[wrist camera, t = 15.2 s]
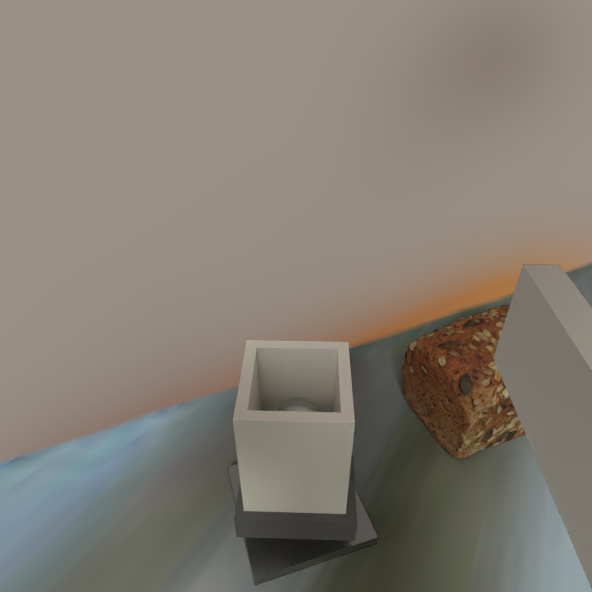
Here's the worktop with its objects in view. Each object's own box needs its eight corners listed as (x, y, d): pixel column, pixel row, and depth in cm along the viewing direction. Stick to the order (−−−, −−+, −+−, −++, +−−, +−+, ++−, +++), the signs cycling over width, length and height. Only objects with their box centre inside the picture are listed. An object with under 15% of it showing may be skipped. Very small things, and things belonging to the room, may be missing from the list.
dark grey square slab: (348, 442, 43) (350, 424, 42) (355, 540, 36) (357, 523, 34) (250, 439, 43) (248, 421, 42) (236, 537, 36) (234, 519, 35)
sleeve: (341, 431, 41) (348, 341, 35) (345, 514, 35) (354, 423, 29) (254, 428, 41) (246, 340, 35) (243, 511, 35) (232, 420, 29)
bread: (455, 471, 44) (478, 395, 38) (392, 391, 52) (404, 318, 46) (603, 409, 50) (643, 335, 44) (526, 346, 58) (551, 276, 52)
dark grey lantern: (331, 444, 46) (336, 351, 39) (376, 543, 39) (393, 449, 32) (228, 473, 44) (214, 379, 37) (255, 585, 36) (244, 493, 29)
